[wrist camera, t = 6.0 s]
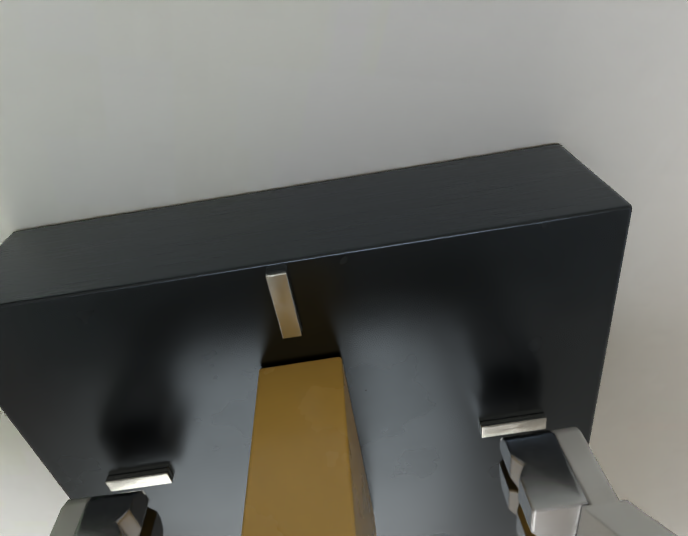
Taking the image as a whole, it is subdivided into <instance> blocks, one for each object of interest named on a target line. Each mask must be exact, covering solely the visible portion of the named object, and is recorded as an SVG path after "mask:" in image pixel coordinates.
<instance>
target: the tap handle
mask: <svg viewBox="0 0 688 536" xmlns="http://www.w3.org/2000/svg"><path fill="white" fill-rule="evenodd" d="M241 536H377V535H376V526H375V517H374V512H373V507H372V503H371V498H370V493H369V488H368V483H367V478H366V474H365V469H364V464H363V459H362V454H361V449H360V445H359V440H358V435H357V430H356V425H355V420H354V416H353V411H352V406H351V401H350V396H349V391H348V387H347V382H346V377H345V372H344V367H343V362H342V359H341V357H334V358H327V359H320V360H314V361H307V362H301V363H294V364H288V365H281V366H274V367H268V368H261V369H260V370H259V377H258V386H257V395H256V404H255V414H254V423H253V432H252V441H251V450H250V459H249V469H248V478H247V487H246V496H245V505H244V515H243V524H242V533H241Z"/></svg>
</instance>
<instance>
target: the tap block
mask: <svg viewBox="0 0 688 536" xmlns="http://www.w3.org/2000/svg"><path fill="white" fill-rule="evenodd" d="M631 212H632V206H631V204H630V203H628V202H627V201H626V200H625V199H624V198H622V197H621V196H620V195H619V194H618V193H617V192H615V191H614V190H613V189H612V188H611V187H609V186H608V185H607V184H606V183H605V182H604V181H602V180H601V179H600V178H599V177H598V176H597V175H595V174H594V173H593V172H592V171H591V170H589V169H588V168H587V167H586V166H585V165H584V164H582V163H581V162H580V161H579V160H578V159H576V158H575V157H574V156H573V155H572V154H571V153H569V152H568V151H567V150H566V149H565V148H564V147H562V146H561V145H560V144H554V145H548V146H541V147H535V148H529V149H523V150H517V151H510V152H504V153H498V154H492V155H486V156H480V157H473V158H467V159H461V160H455V161H449V162H442V163H436V164H430V165H424V166H418V167H412V168H405V169H399V170H393V171H387V172H381V173H374V174H368V175H362V176H356V177H350V178H344V179H337V180H331V181H325V182H319V183H313V184H306V185H300V186H294V187H288V188H282V189H276V190H269V191H263V192H257V193H251V194H245V195H238V196H232V197H226V198H220V199H214V200H208V201H201V202H195V203H189V204H183V205H177V206H170V207H164V208H158V209H152V210H146V211H140V212H133V213H127V214H121V215H115V216H109V217H102V218H96V219H90V220H84V221H78V222H72V223H65V224H59V225H53V226H47V227H41V228H34V229H28V230H22V231H16V232H13V233H12V234H11V235H10V236H9V237H8V238H7V239H6V240H5V241H4V242H3V243H2V244H1V245H0V407H1V409H2V410H3V411H4V413H5V414H6V415H7V416H8V418H9V419H10V420H11V422H12V423H13V424H14V426H15V427H16V428H17V430H18V431H19V432H20V434H21V435H22V436H23V437H24V439H25V440H26V441H27V443H28V444H29V445H30V447H31V448H32V449H33V451H34V452H35V453H36V455H37V456H38V457H39V458H40V460H41V461H42V462H43V464H44V465H45V466H46V468H47V469H48V470H49V472H50V473H51V474H52V475H53V477H54V478H55V479H56V481H57V482H58V483H59V485H60V486H61V487H62V489H63V490H64V491H65V493H66V494H67V495H68V496H69V498H70V499H71V500H72V499H78V498H85V497H92V496H102V495H109V494H117V493H125V492H132V491H140V490H143V491H144V492H145V493H146V495H147V496H148V498H149V503H148V507H149V508H151V509H153V510H155V511H157V512H158V514H159V515H160V517H161V520H162V524H163V528H164V531H163V536H241V533H242V524H243V515H244V505H245V496H246V487H247V478H248V469H249V459H250V450H251V441H252V432H253V423H254V414H255V404H256V395H257V386H258V377H259V370H260V369H261V368H268V367H274V366H281V365H288V364H294V363H301V362H307V361H314V360H320V359H327V358H334V357H341V359H342V362H343V367H344V372H345V377H346V382H347V387H348V391H349V396H350V401H351V406H352V411H353V416H354V420H355V425H356V430H357V435H358V440H359V445H360V449H361V454H362V459H363V464H364V469H365V474H366V478H367V483H368V488H369V493H370V498H371V503H372V507H373V512H374V517H375V526H376V535H377V536H518V535H517V532H516V518H517V515H515V514H514V513H513V512H512V511H511V510H509V509H508V506H507V503H506V500H505V497H504V494H503V490H502V486H501V481H500V474H499V462H500V461H501V460H502V459H503V457H502V454H501V451H500V440H501V438H502V437H506V436H513V435H519V434H525V433H531V432H537V431H543V430H555V429H561V428H567V427H577V428H578V429H579V430H580V431H581V432H582V434H583V436H584V438H585V440H586V441H587V443H588V445H589V441H590V435H591V430H592V425H593V419H594V414H595V408H596V403H597V397H598V392H599V386H600V381H601V376H602V370H603V365H604V359H605V354H606V348H607V343H608V337H609V332H610V327H611V321H612V316H613V310H614V305H615V299H616V294H617V288H618V283H619V278H620V272H621V267H622V261H623V256H624V250H625V245H626V239H627V234H628V229H629V223H630V218H631Z"/></svg>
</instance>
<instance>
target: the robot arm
mask: <svg viewBox="0 0 688 536" xmlns="http://www.w3.org/2000/svg"><path fill="white" fill-rule="evenodd" d="M500 451H501V454H502V457H503V459H502V460H501V461H500V462H499V474H500V481H501V486H502V490H503V494H504V497H505V500H506V503H507V506H508V509H509V510H511V511H512V512H513V513H514V514H515V515H517V518H516V532H517V535H518V536H677V535H676V534H674V533H673V532H671V531H670V530H669V529H667V528H666V527H664V526H663V525H662V524H660V523H659V522H657V521H656V520H655V519H653V518H652V517H650V516H649V515H648V514H646V513H645V512H643V511H642V510H641V509H639V508H638V507H636V506H635V505H634V504H632V503H631V502H629V501H628V500H621V501H619V499H618V497H617V495H616V494H615V492H614V490H613V488H612V486H611V485H610V483H609V481H608V479H607V477H606V476H605V474H604V472H603V470H602V468H601V467H600V465H599V463H598V461H597V459H596V458H595V456H594V454H593V452H592V450H591V449H590V447H589V445H588V443H587V441H586V440H585V438H584V436H583V434H582V432H581V431H580V430H579V429H578V428H577V427H567V428H561V429H555V430H543V431H537V432H531V433H525V434H519V435H513V436H506V437H502V438H501V440H500ZM148 503H149V498H148V496H147V495H146V493H145V492H144V491H143V490H140V491H132V492H125V493H117V494H109V495H102V496H92V497H85V498H78V499H72V500H68V501H67V502H66V504H65V505H64V506H63V507H62V508H61V510H60V513H59V515H58V517H57V520H56V522H55V524H54V527H53V529H52V531H51V534H50V536H163V531H164V528H163V524H162V520H161V517H160V515H159V514H158V512H157V511H155V510H153V509H151V508H149V507H148Z"/></svg>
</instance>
